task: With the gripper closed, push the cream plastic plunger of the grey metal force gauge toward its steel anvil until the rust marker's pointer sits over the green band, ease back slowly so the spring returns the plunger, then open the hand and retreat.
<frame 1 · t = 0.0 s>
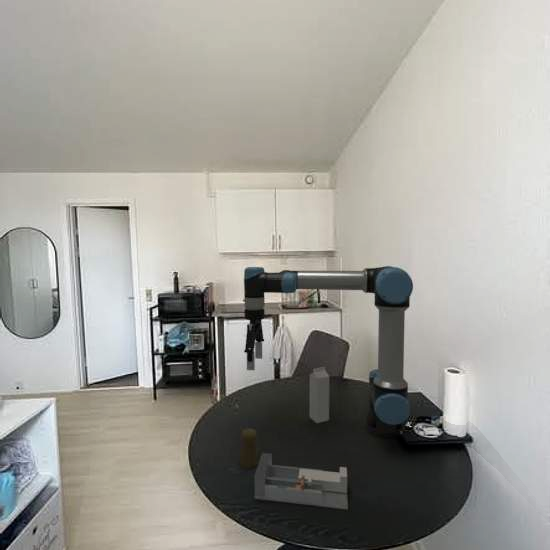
hand: (255, 363, 130), 28 cm above the table, fingers open, 13 cm apart
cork: (249, 463, 115), on the table
gauge housing: (301, 490, 101), on the table
marker: (299, 488, 97), point 4 cm above the table, slide at 1.0 cm
milk: (319, 419, 144), on the table
plunger: (322, 480, 100), point 4 cm above the table, slide at 0.0 cm
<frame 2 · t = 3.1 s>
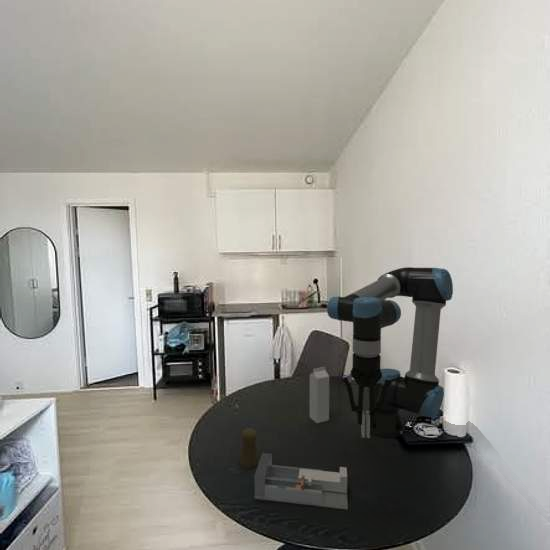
hand: (365, 435, 97), 18 cm above the table, fingers closed
nothing on the table moved.
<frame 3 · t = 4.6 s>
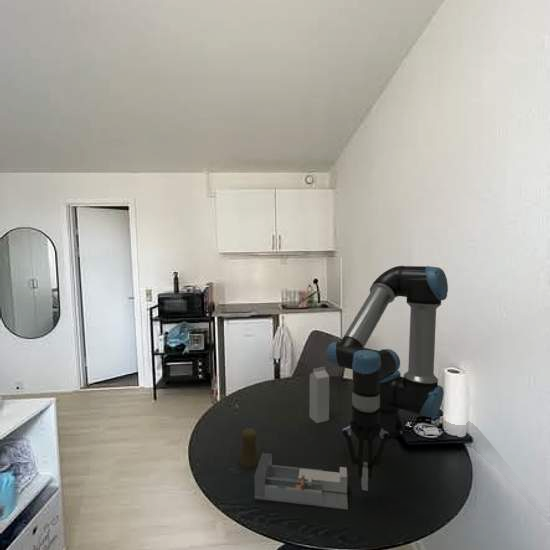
hand: (364, 487, 98), 3 cm above the table, fingers closed
nothing on the table moved.
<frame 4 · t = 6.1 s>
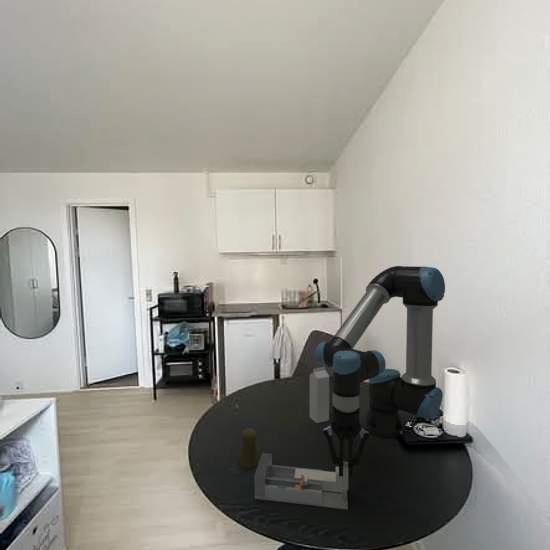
hand: (345, 486, 99), 3 cm above the table, fingers closed
marker: (299, 488, 97), point 4 cm above the table, slide at 1.2 cm, touching plunger
plunger: (318, 480, 100), point 4 cm above the table, slide at 1.2 cm, touching gripper, marker
everything else where it was.
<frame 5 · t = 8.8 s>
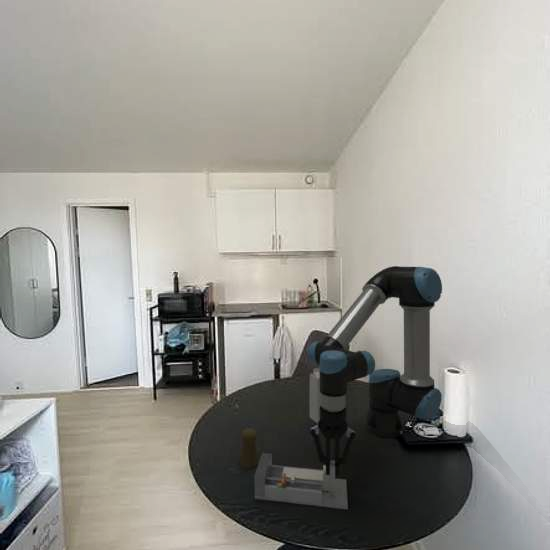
hand: (332, 485, 100), 3 cm above the table, fingers closed
marker: (280, 486, 97), point 4 cm above the table, slide at 6.4 cm
plunger: (305, 479, 101), point 4 cm above the table, slide at 4.9 cm, touching gripper
everything else where it was.
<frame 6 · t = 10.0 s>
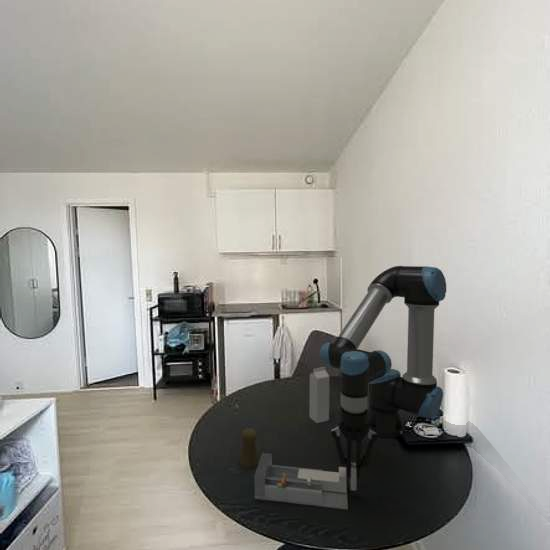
hand: (353, 487, 99), 3 cm above the table, fingers closed
plunger: (321, 480, 100), point 4 cm above the table, slide at 0.2 cm
everything else where it was.
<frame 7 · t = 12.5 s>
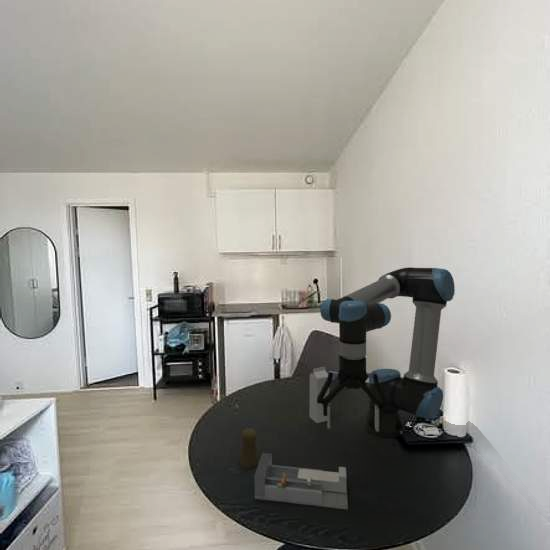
hand: (352, 427, 99), 19 cm above the table, fingers open, 13 cm apart
nothing on the table moved.
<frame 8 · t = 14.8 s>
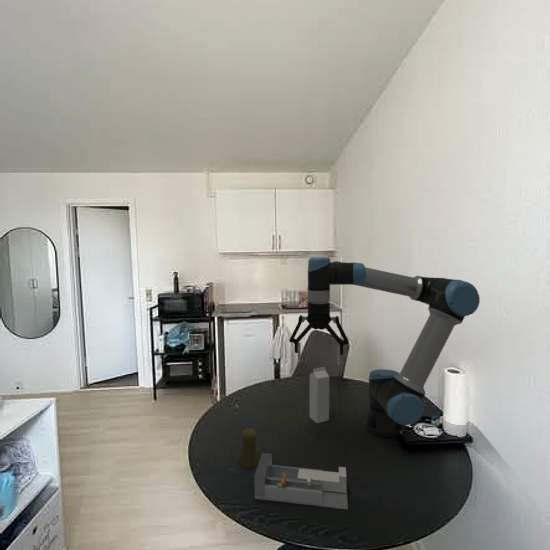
hand: (318, 363, 119), 32 cm above the table, fingers open, 13 cm apart
nothing on the table moved.
at the end: marker slide at 6.4 cm; plunger slide at 0.2 cm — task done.
